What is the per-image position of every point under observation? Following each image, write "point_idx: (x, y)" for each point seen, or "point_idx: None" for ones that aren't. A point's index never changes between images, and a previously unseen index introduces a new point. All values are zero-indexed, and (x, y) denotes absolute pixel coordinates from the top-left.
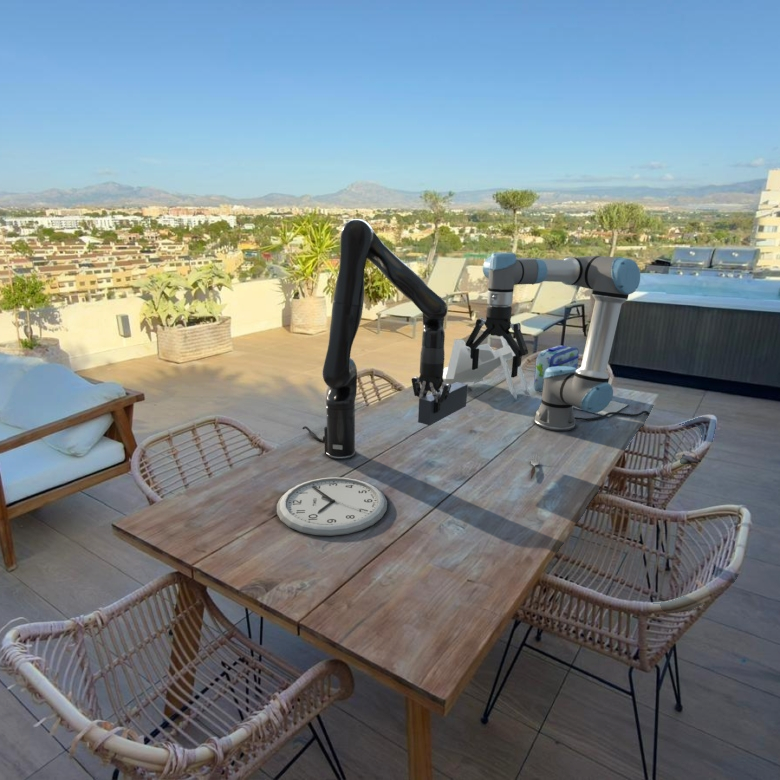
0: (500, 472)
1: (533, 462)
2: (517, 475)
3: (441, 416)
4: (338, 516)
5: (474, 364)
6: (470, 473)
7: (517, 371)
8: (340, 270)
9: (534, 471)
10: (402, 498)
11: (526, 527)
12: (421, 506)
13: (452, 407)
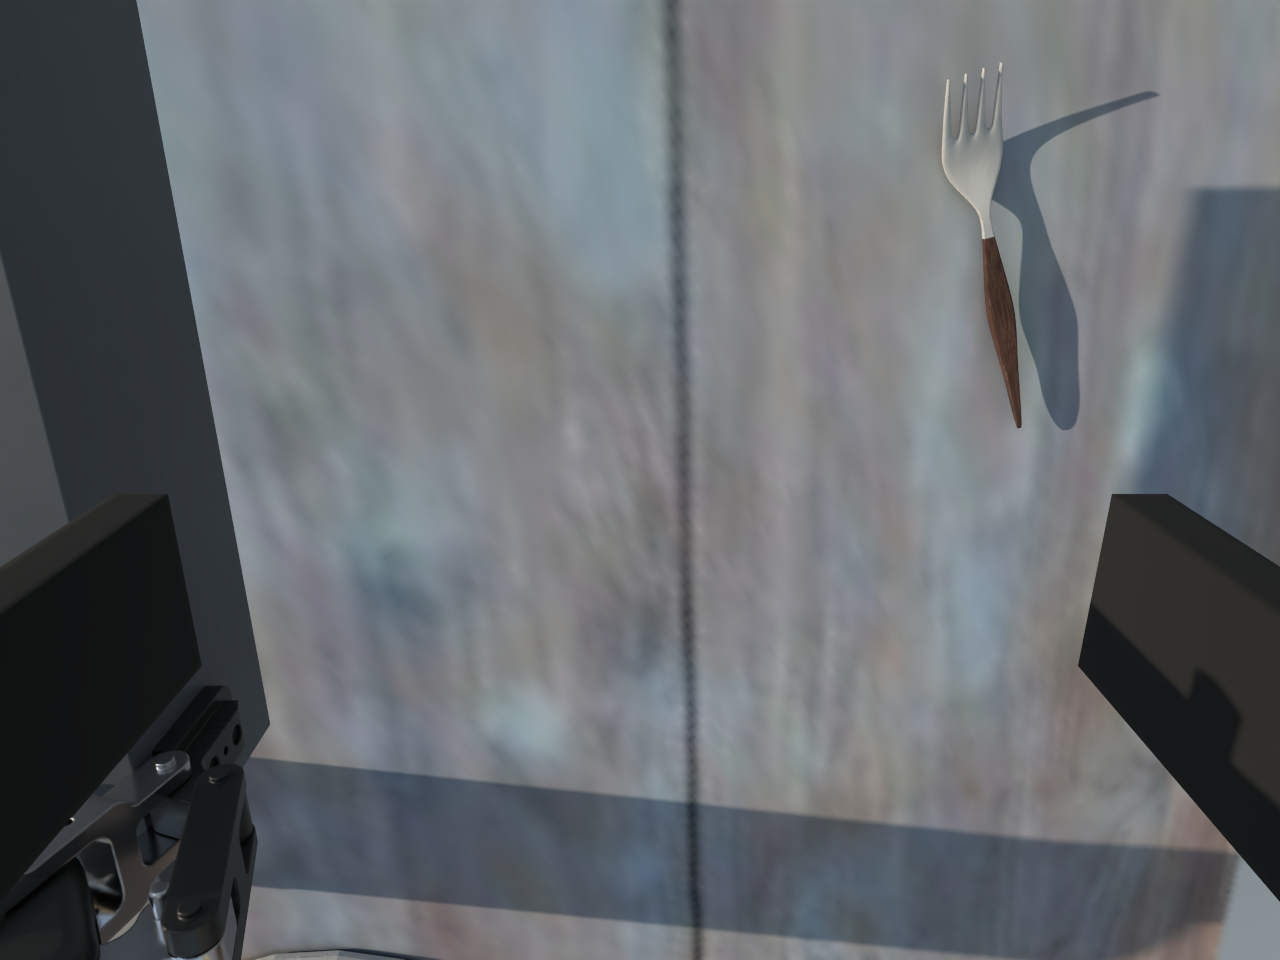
0: (808, 434)
1: (962, 159)
2: (916, 406)
3: (226, 562)
4: None
5: (134, 729)
6: (660, 557)
7: (1229, 537)
8: None
9: (1015, 325)
10: (534, 944)
11: (1108, 845)
12: (643, 949)
13: (167, 362)
